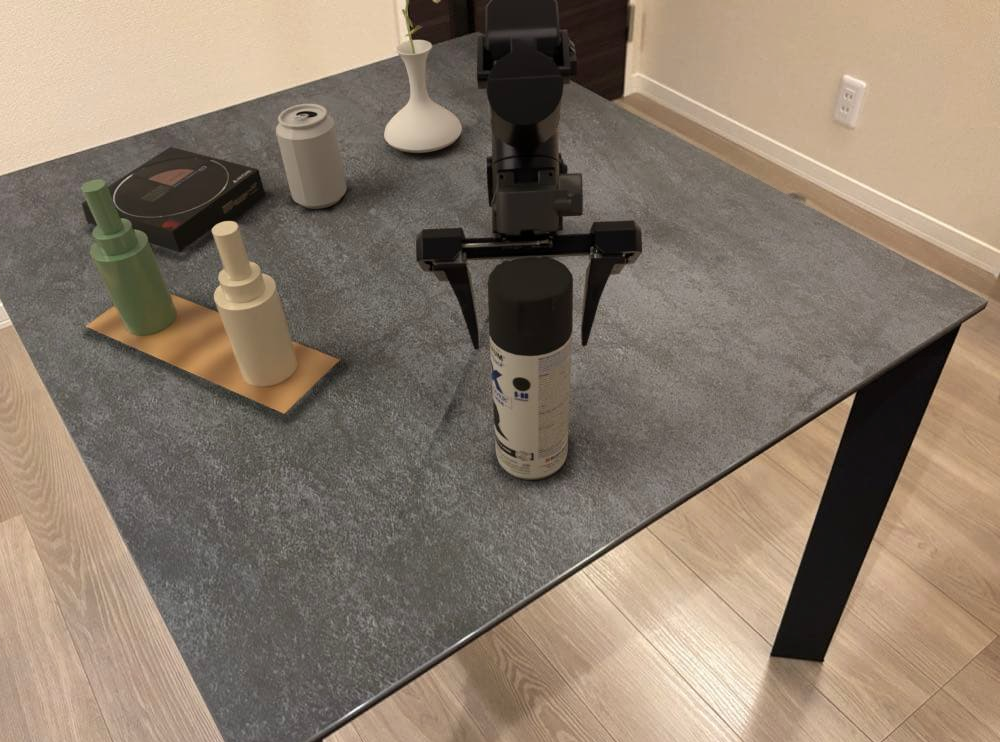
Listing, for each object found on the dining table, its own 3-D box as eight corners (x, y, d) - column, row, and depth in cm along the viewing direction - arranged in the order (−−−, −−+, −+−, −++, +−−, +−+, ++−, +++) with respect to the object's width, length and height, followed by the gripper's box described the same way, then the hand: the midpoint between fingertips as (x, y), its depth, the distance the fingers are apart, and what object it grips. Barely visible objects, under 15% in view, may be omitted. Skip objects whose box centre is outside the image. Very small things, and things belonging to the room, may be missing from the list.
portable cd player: (176, 171, 121) (167, 145, 118) (265, 195, 114) (258, 169, 111) (90, 228, 111) (78, 202, 108) (182, 258, 104) (172, 231, 102)
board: (341, 366, 87) (340, 359, 87) (286, 420, 82) (284, 413, 82) (147, 290, 100) (144, 283, 99) (88, 332, 95) (85, 325, 94)
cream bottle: (230, 382, 85) (179, 243, 74) (256, 345, 89) (212, 207, 78) (282, 390, 84) (238, 250, 72) (307, 352, 88) (269, 213, 76)
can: (356, 186, 114) (341, 102, 106) (333, 215, 109) (315, 129, 101) (308, 180, 116) (289, 97, 108) (283, 208, 111) (261, 124, 103)
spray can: (492, 432, 79) (480, 257, 65) (562, 424, 79) (565, 248, 65) (500, 485, 74) (489, 309, 60) (575, 477, 74) (581, 299, 60)
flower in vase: (462, 158, 117) (447, -32, 100) (382, 163, 118) (354, -25, 100) (463, 116, 127) (449, -65, 109) (389, 121, 127) (364, -58, 110)
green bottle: (113, 331, 93) (49, 198, 81) (142, 299, 97) (85, 167, 85) (159, 339, 91) (101, 204, 80) (187, 306, 95) (135, 172, 83)
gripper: (404, 141, 64) (409, 343, 64) (649, 128, 62) (655, 335, 62) (422, 181, 75) (426, 353, 75) (630, 171, 73) (635, 347, 73)
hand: (530, 347), depth 71 cm, fingers open, 9 cm apart
